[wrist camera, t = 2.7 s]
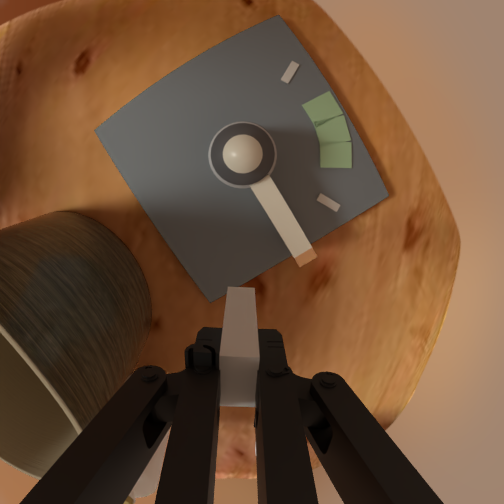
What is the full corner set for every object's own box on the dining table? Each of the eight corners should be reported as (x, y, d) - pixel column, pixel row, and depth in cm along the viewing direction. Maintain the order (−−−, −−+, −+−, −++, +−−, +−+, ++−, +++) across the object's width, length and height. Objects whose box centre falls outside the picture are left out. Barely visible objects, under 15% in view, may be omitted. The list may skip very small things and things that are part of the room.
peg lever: (205, 147, 27) (197, 144, 22) (251, 118, 27) (253, 109, 22) (278, 261, 31) (285, 282, 26) (321, 235, 30) (337, 251, 25)
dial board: (99, 131, 28) (93, 130, 26) (277, 19, 25) (279, 13, 23) (211, 298, 34) (210, 303, 32) (384, 194, 31) (390, 196, 29)
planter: (84, 387, 38) (30, 488, 18) (-9, 270, 32) (-103, 335, 13) (194, 324, 35) (159, 472, 15) (78, 166, 29) (-68, 194, 10)
